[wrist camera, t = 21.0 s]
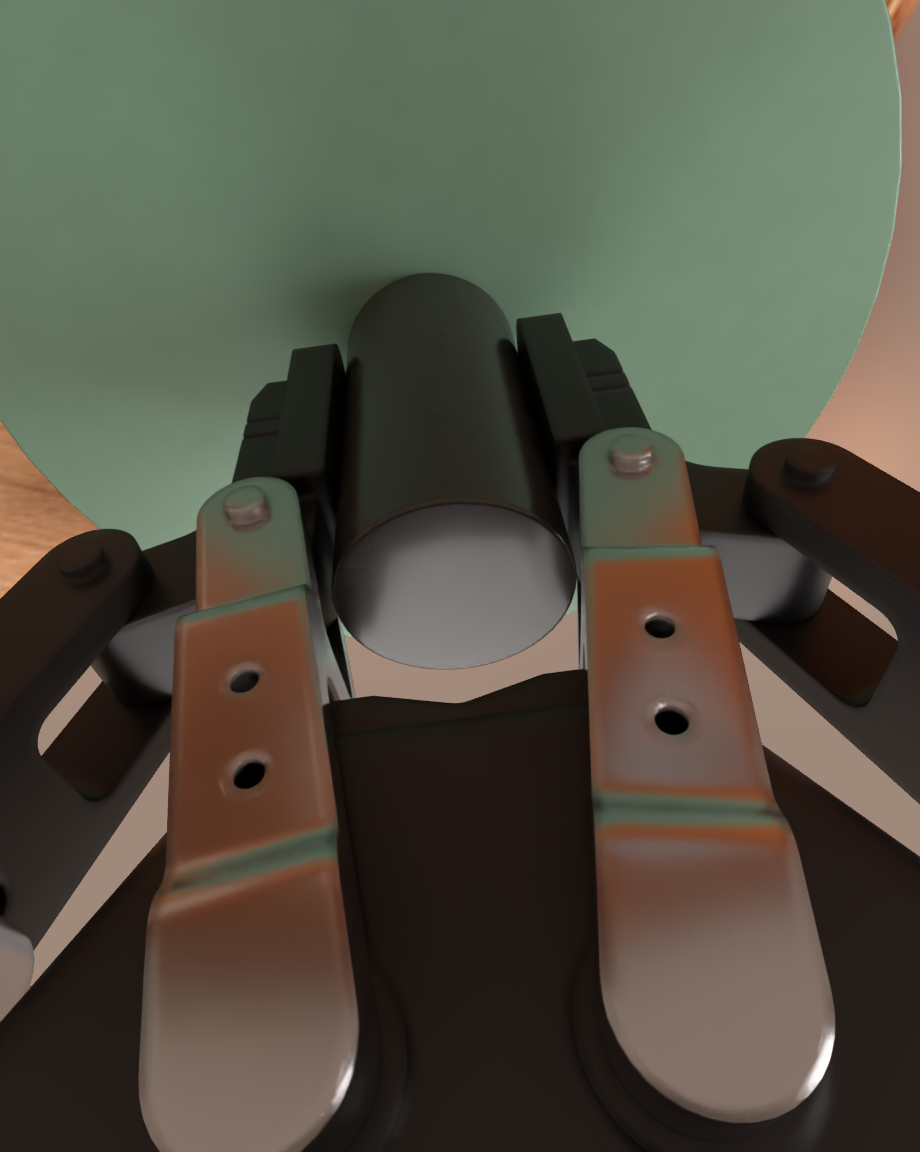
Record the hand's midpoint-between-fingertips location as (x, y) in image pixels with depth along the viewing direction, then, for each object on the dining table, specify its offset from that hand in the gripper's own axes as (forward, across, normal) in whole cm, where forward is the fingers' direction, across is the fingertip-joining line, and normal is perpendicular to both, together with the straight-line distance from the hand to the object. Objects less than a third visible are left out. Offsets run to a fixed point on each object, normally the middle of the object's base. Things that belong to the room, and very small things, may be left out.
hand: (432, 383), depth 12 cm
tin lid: (+2, 0, 0) cm, 2 cm away
